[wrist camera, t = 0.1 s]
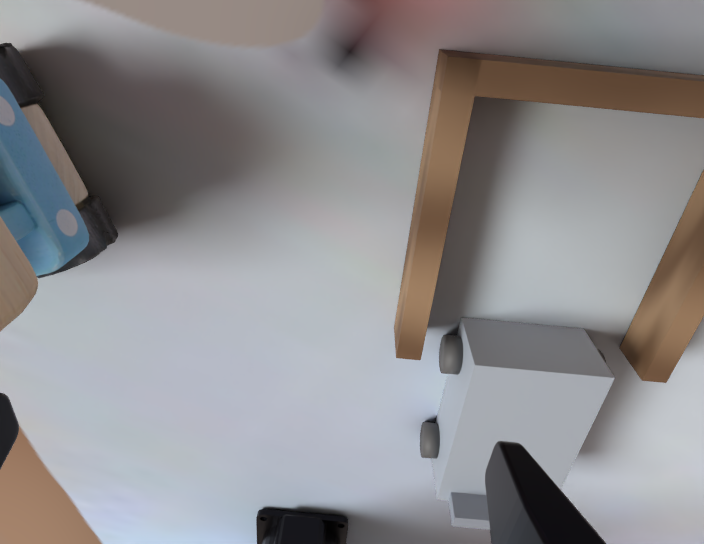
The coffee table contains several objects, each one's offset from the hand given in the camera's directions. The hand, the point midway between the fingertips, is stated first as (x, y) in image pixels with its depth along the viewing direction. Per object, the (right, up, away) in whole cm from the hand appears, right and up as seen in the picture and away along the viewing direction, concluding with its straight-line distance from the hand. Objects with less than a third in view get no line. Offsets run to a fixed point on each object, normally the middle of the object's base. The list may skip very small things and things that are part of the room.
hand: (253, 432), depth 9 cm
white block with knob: (+10, -4, +19) cm, 22 cm away
